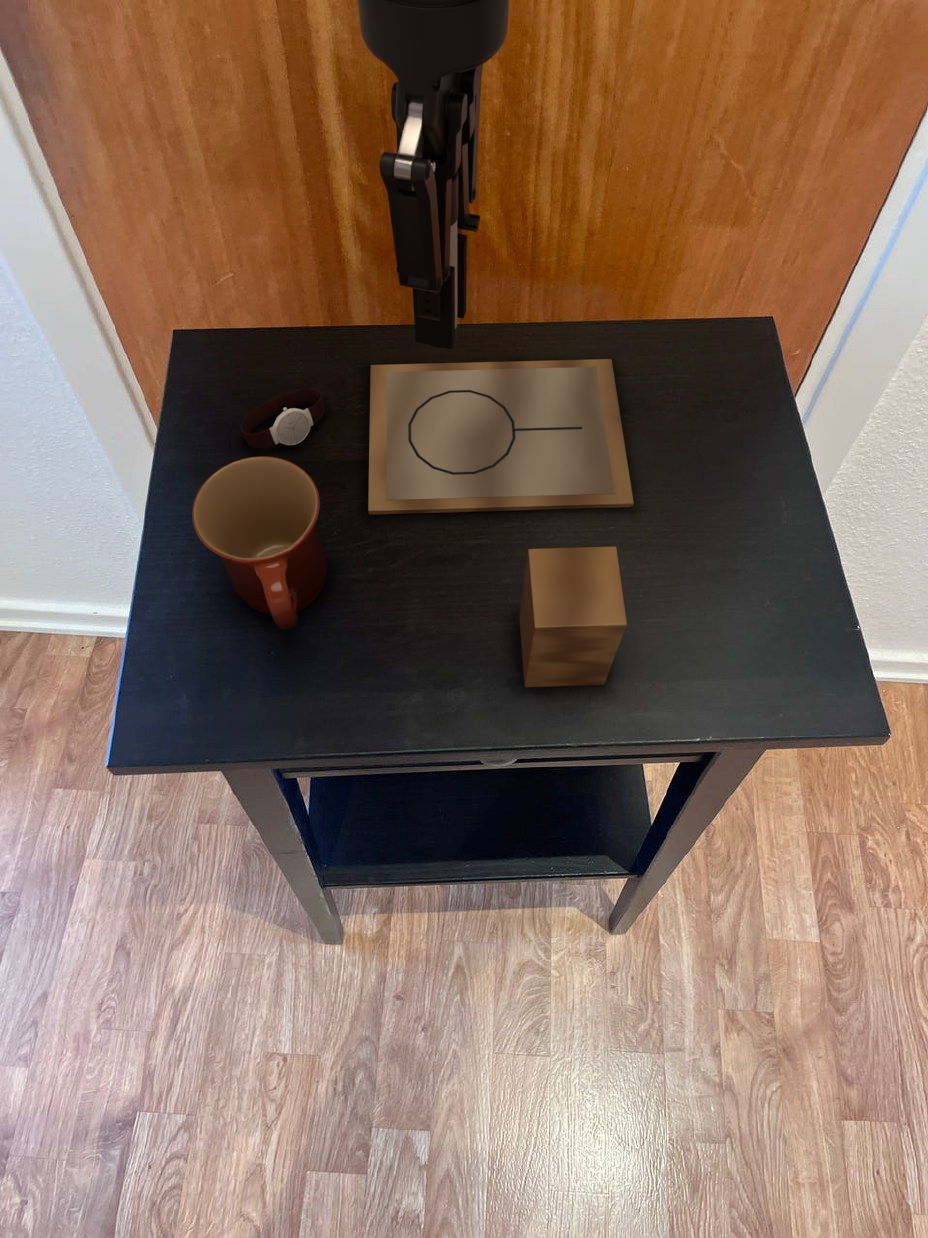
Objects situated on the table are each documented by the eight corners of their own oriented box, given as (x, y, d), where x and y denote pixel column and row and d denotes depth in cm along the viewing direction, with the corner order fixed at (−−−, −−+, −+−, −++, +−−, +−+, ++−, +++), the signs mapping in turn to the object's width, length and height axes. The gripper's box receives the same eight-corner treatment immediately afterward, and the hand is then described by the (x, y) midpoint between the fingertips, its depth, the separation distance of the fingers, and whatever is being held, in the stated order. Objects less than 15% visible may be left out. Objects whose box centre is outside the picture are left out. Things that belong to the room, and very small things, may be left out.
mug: (219, 548, 70) (183, 471, 61) (325, 523, 71) (305, 443, 62) (244, 679, 64) (209, 616, 55) (358, 649, 66) (342, 583, 56)
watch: (260, 465, 74) (251, 438, 70) (234, 430, 75) (224, 402, 72) (337, 425, 76) (332, 396, 72) (310, 391, 77) (303, 362, 74)
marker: (461, 327, 63) (462, 162, 51) (453, 352, 62) (451, 189, 50) (429, 320, 63) (422, 155, 52) (419, 345, 62) (410, 181, 51)
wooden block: (595, 614, 67) (616, 545, 58) (604, 685, 64) (627, 624, 55) (519, 616, 67) (528, 548, 58) (524, 687, 64) (534, 627, 55)
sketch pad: (610, 363, 79) (611, 357, 78) (632, 507, 72) (634, 502, 71) (371, 369, 79) (370, 363, 78) (368, 514, 71) (367, 510, 71)
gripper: (403, -137, 45) (421, 245, 66) (302, 28, 38) (358, 395, 59) (544, -117, 44) (516, 263, 65) (467, 55, 37) (464, 418, 58)
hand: (441, 325), depth 62 cm, fingers closed on marker, 2 cm apart
